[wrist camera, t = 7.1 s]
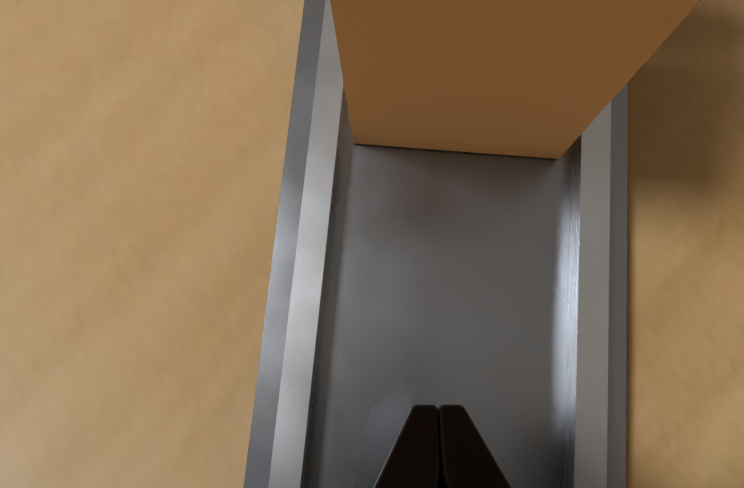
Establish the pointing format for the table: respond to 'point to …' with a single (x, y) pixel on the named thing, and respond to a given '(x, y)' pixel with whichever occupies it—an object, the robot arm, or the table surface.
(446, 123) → the orange padlock
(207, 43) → the table surface
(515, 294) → the grey stand with block
